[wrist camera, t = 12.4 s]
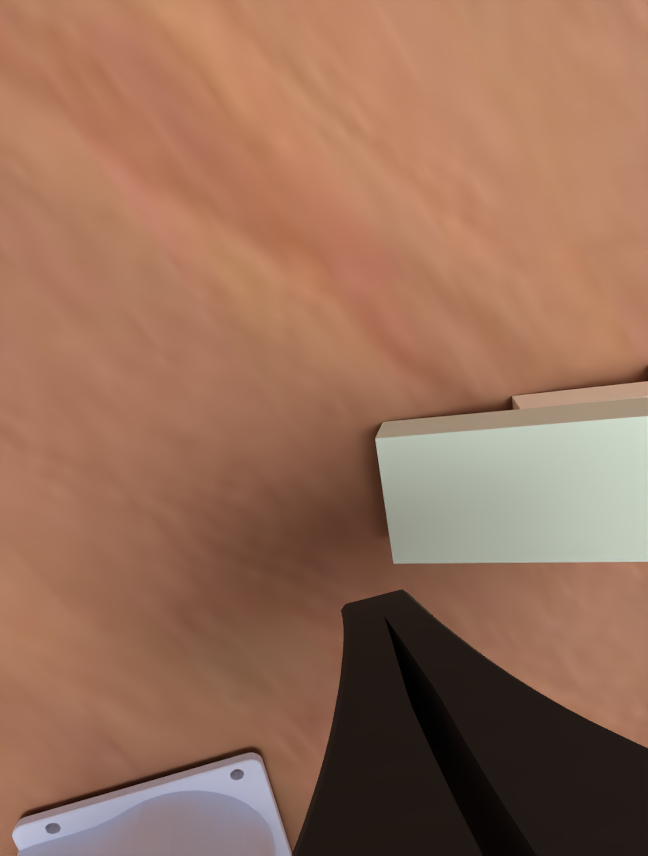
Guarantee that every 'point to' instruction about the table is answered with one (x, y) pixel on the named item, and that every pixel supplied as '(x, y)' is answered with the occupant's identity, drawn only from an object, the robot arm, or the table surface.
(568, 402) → the domino
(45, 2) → the table surface
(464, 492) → the domino
